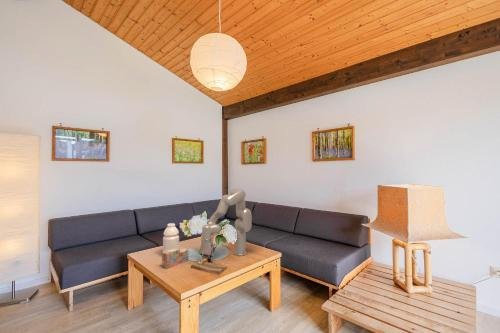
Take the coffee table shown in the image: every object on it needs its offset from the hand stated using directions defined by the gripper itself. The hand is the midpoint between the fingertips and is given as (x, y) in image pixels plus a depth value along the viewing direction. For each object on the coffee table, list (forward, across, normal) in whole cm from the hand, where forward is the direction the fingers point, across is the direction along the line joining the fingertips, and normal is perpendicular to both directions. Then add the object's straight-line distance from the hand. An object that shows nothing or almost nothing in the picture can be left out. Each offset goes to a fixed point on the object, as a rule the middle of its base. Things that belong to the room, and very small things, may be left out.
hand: (206, 262), depth 194 cm
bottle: (+1, +38, 0) cm, 38 cm away
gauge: (+1, 0, +4) cm, 4 cm away
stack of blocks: (+1, +22, +12) cm, 25 cm away
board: (+1, -8, +8) cm, 11 cm away
